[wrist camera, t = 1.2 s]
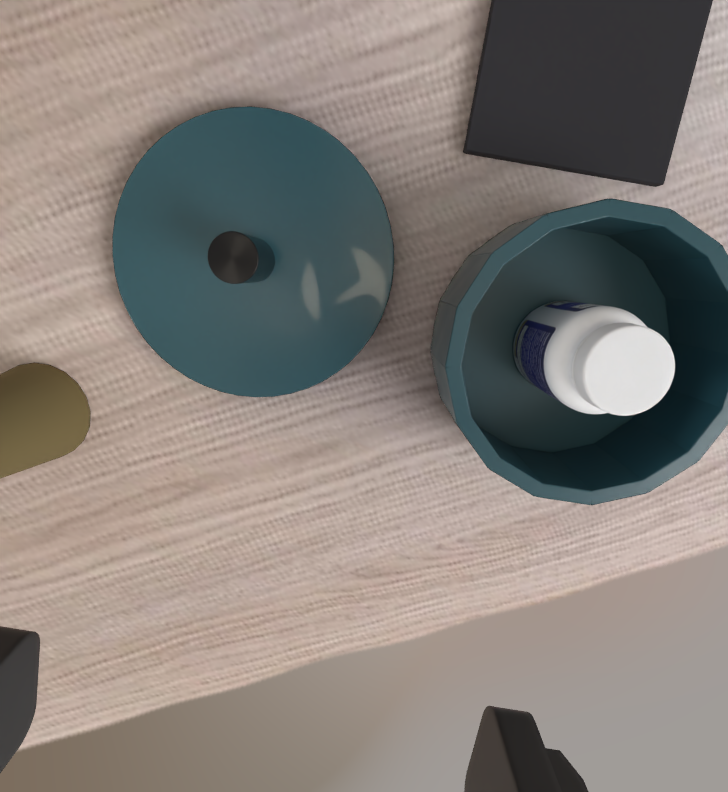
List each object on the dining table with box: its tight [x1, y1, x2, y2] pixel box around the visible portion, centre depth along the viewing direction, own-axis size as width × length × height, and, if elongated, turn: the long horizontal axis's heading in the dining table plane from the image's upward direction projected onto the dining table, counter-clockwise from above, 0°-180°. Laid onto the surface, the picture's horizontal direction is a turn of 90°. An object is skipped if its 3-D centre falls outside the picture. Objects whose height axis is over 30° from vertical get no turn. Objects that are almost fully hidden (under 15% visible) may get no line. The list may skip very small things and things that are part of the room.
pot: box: [430, 199, 728, 505], centre depth 29 cm, size 15×15×6 cm
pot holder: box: [463, 0, 713, 187], centre depth 28 cm, size 11×11×1 cm
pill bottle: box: [513, 301, 675, 416], centre depth 27 cm, size 5×5×9 cm
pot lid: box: [113, 107, 394, 397], centre depth 28 cm, size 16×16×6 cm
